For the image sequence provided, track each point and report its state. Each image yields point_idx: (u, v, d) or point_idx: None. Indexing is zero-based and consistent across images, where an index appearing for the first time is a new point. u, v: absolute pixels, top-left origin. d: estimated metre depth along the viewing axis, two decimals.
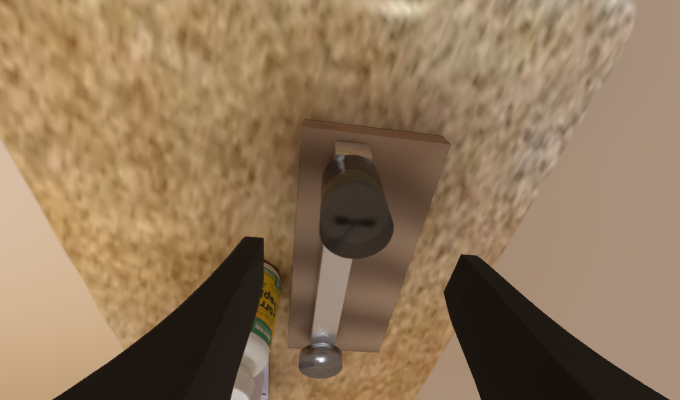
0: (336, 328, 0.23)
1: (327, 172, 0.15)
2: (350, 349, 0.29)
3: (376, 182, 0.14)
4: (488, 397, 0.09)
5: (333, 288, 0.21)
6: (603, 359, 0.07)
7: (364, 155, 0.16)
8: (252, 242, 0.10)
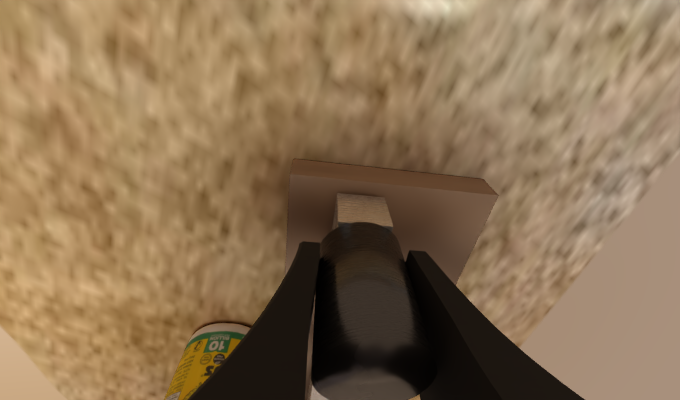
0: None
1: (325, 251, 0.10)
2: None
3: (403, 279, 0.09)
4: (425, 395, 0.08)
5: None
6: (524, 355, 0.07)
7: (380, 220, 0.11)
8: (311, 246, 0.10)
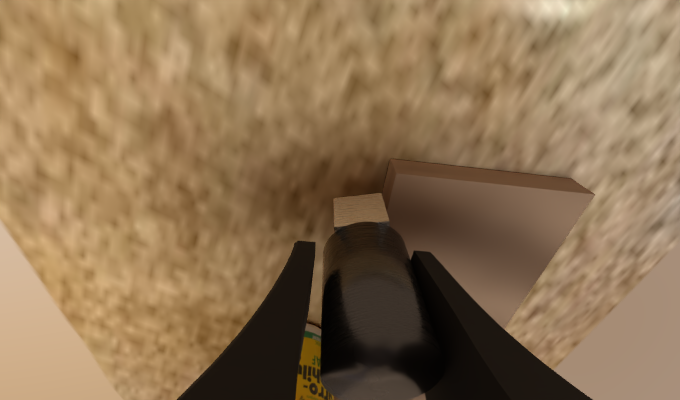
0: None
1: (326, 258, 0.10)
2: None
3: (400, 273, 0.09)
4: (431, 395, 0.09)
5: None
6: (531, 355, 0.07)
7: (376, 217, 0.11)
8: (306, 246, 0.10)
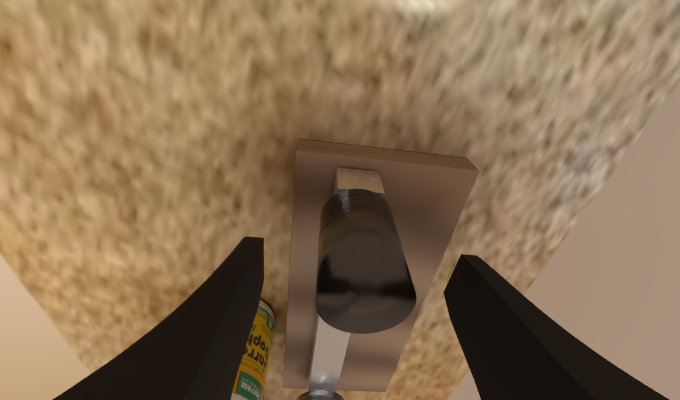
0: (338, 376, 0.20)
1: (327, 212, 0.12)
2: (353, 389, 0.26)
3: (391, 231, 0.11)
4: (488, 397, 0.09)
5: (334, 336, 0.18)
6: (603, 359, 0.07)
7: (373, 188, 0.13)
8: (252, 242, 0.10)
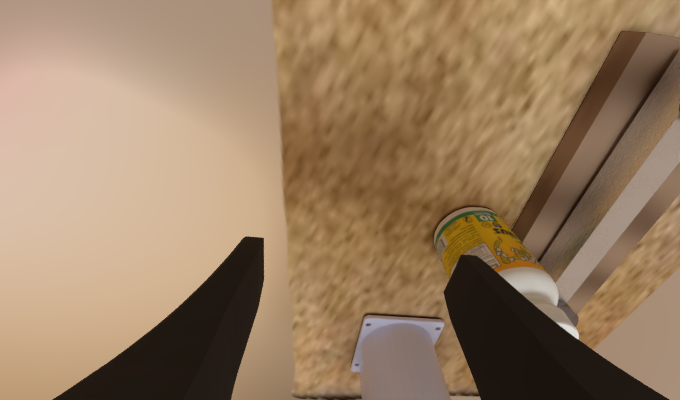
0: (581, 281, 0.21)
1: None
2: None
3: None
4: (488, 397, 0.09)
5: (609, 231, 0.19)
6: (603, 359, 0.07)
7: None
8: (252, 242, 0.10)
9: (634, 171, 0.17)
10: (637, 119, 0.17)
